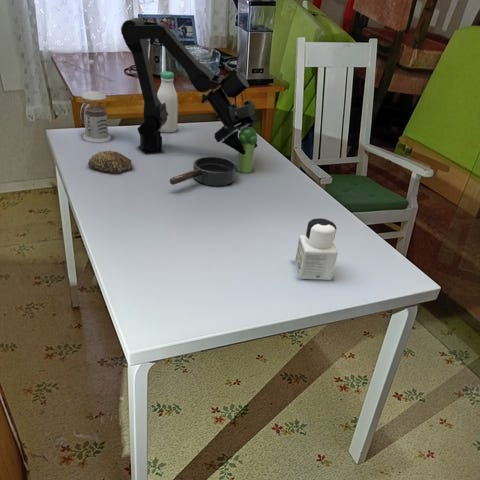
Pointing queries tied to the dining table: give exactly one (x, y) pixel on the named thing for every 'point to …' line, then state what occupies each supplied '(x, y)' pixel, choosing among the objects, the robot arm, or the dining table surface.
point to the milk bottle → (168, 101)
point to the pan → (215, 171)
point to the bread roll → (110, 162)
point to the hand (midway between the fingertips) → (250, 150)
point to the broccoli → (247, 149)
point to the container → (317, 250)
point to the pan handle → (186, 176)
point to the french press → (99, 123)
